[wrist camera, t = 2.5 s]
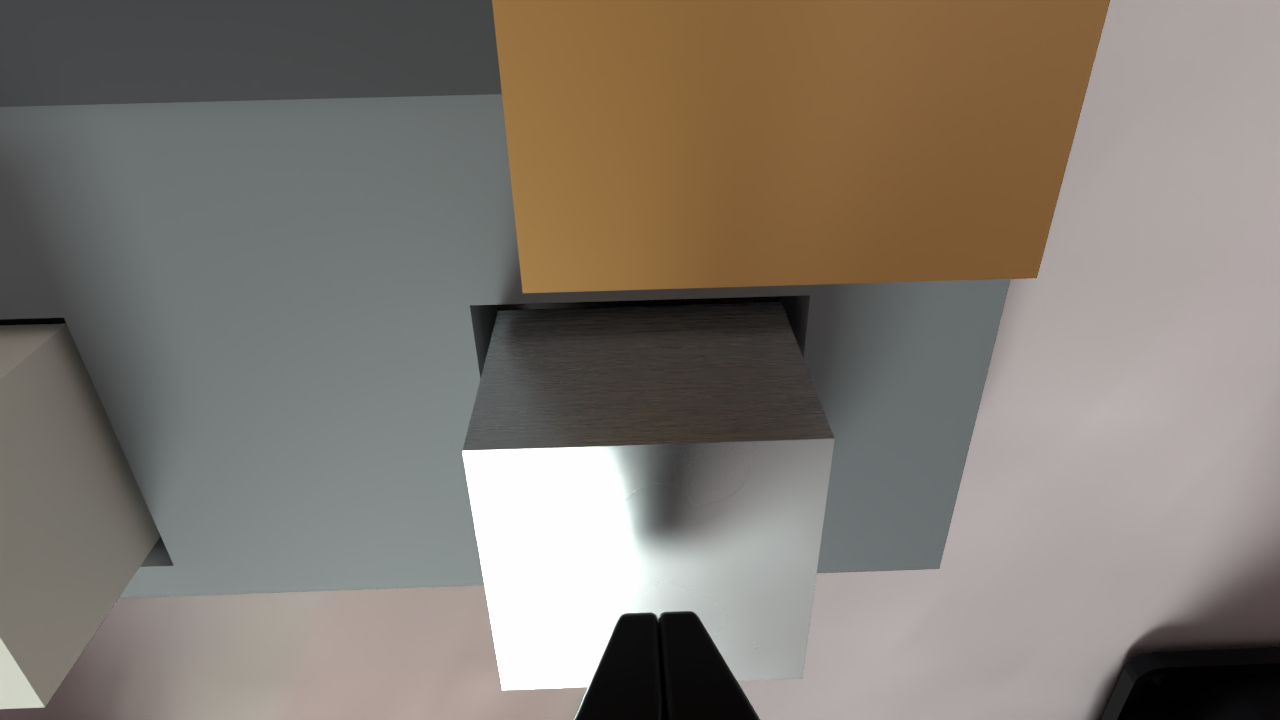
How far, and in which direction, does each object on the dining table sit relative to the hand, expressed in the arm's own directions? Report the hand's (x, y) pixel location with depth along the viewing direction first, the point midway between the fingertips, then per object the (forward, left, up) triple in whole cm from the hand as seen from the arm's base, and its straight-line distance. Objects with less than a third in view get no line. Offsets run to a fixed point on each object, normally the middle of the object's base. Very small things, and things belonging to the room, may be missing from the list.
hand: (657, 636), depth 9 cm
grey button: (0, 0, -4) cm, 4 cm away
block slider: (-1, -6, -3) cm, 7 cm away
